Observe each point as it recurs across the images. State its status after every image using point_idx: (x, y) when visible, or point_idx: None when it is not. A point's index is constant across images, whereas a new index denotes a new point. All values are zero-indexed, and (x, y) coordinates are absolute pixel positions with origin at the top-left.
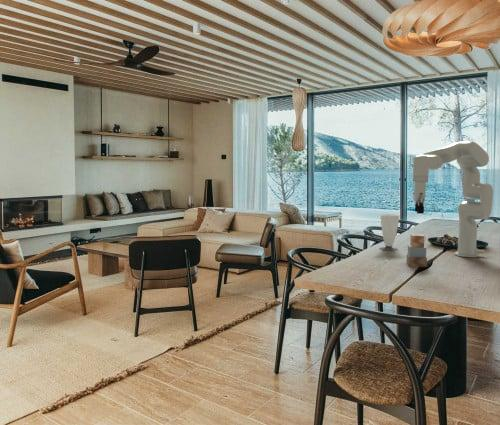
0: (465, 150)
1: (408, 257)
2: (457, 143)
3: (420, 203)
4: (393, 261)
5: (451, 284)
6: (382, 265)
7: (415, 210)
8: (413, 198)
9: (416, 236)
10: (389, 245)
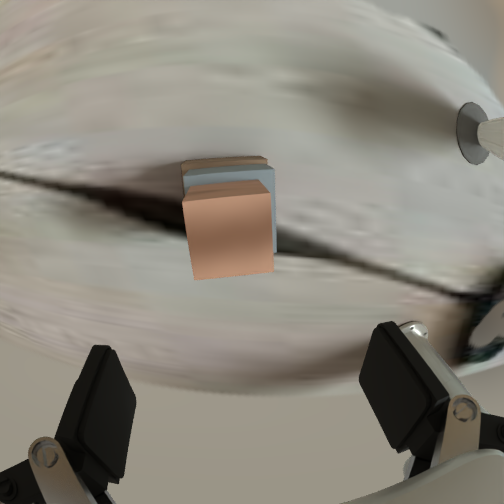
0: None
1: (185, 163)
2: None
3: (25, 475)
4: (267, 103)
5: (11, 280)
6: (166, 61)
7: (380, 334)
8: (464, 500)
9: (186, 228)
10: (479, 134)
